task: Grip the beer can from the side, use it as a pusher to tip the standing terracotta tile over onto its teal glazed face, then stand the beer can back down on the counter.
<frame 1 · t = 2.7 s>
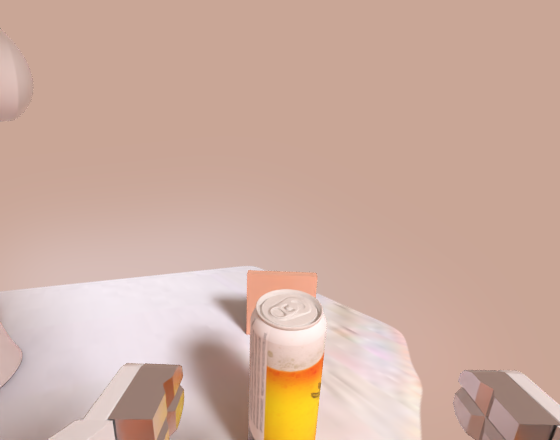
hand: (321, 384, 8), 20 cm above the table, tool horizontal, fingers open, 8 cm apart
tile: (279, 332, 40), on the table
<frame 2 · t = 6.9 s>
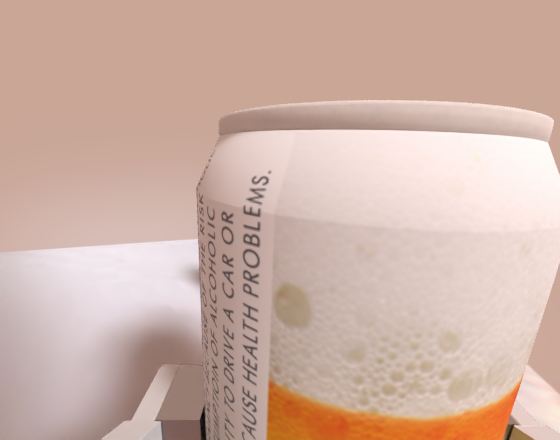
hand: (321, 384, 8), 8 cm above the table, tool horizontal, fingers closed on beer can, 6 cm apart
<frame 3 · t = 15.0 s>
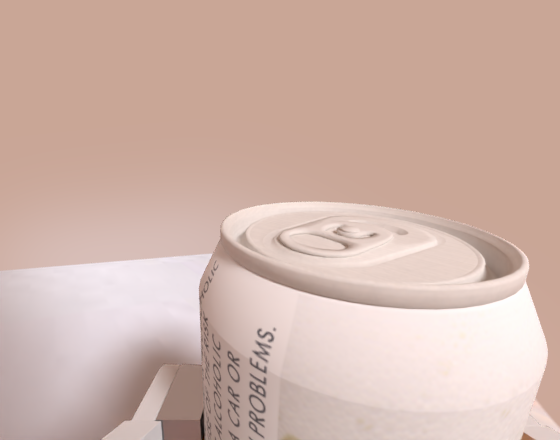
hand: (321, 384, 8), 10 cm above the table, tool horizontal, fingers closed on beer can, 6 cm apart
when the fingers open (10 cm above the table, at t = 15.0 s): beer can stays where it is, on the table.
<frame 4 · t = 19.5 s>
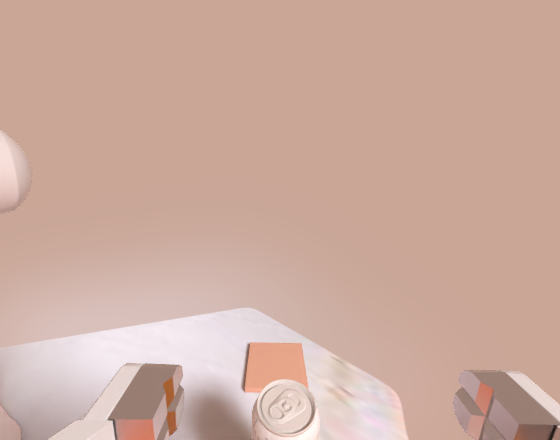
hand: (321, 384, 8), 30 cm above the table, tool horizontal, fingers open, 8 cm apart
tile: (276, 390, 41), on the table, tilted 90°
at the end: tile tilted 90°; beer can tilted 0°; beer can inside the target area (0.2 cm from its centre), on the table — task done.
